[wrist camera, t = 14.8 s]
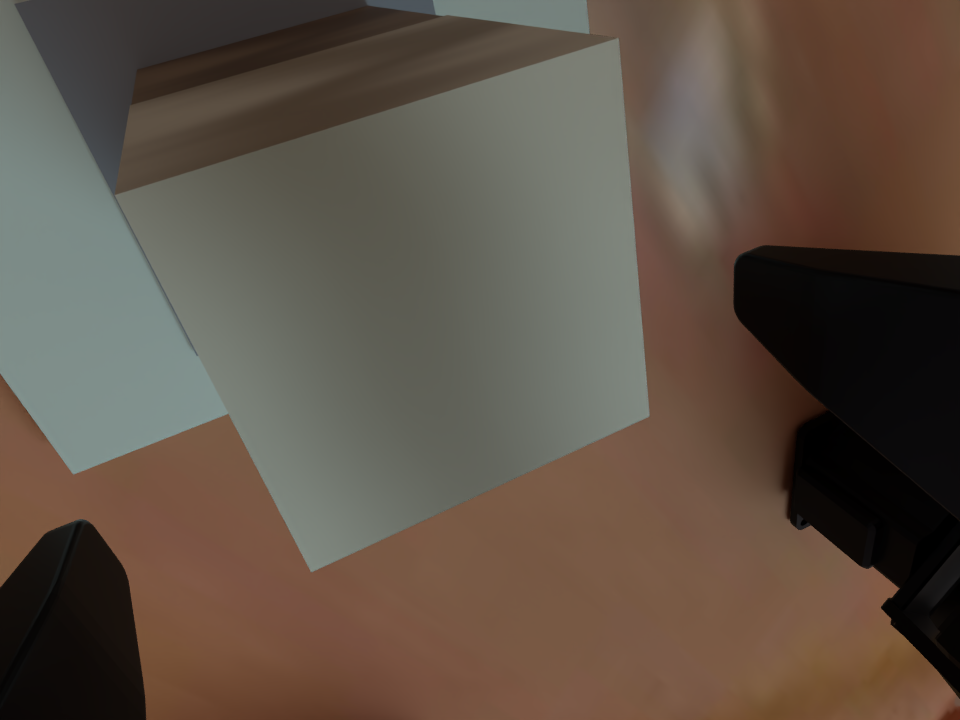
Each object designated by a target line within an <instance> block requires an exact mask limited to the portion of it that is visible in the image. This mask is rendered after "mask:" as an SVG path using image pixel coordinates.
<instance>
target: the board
mask: <svg viewBox="0 0 960 720" xmlns="http://www.w3.org/2000/svg"><path fill="white" fill-rule="evenodd" d="M365 6H375V7H382V8H389V9H396V10H403V11H410V12H418V13H425V14H432V15H439V16H445V15H451V16H459V17H466V18H474V19H481V20H489V21H496V22H504V23H511V24H519V25H526V26H533V27H541V28H548V29H556V30H563V31H571V32H578V33H586V34H590V31H589V21H588V11H587V1H586V0H0V374H1V375H2V377H3V378H4V379H5V381H6V382H7V383H8V385H9V386H10V388H11V389H12V390H13V392H14V393H15V395H16V396H17V397H18V399H19V400H20V401H21V403H22V404H23V406H24V407H25V408H26V410H27V411H28V412H29V414H30V415H31V417H32V418H33V419H34V421H35V422H36V424H37V425H38V426H39V428H40V429H41V430H42V432H43V433H44V435H45V436H46V437H47V439H48V440H49V441H50V443H51V444H52V446H53V447H54V448H55V450H56V451H57V453H58V454H59V455H60V457H61V458H62V459H63V461H64V462H65V464H66V465H67V466H68V468H69V469H70V470H71V472H72V473H73V474H76V473H78V472H81V471H83V470H86V469H89V468H91V467H94V466H96V465H99V464H101V463H104V462H106V461H109V460H111V459H114V458H117V457H119V456H122V455H124V454H127V453H129V452H132V451H134V450H137V449H140V448H142V447H145V446H147V445H150V444H152V443H155V442H157V441H160V440H162V439H165V438H168V437H170V436H173V435H175V434H178V433H180V432H183V431H185V430H188V429H190V428H193V427H196V426H198V425H201V424H203V423H206V422H208V421H211V420H213V419H216V418H218V417H221V416H224V415H226V414H228V412H227V410H226V408H225V406H224V404H223V402H222V400H221V398H220V396H219V395H218V393H217V391H216V389H215V387H214V385H213V383H212V381H211V379H210V377H209V375H208V373H207V372H206V370H205V368H204V366H203V364H202V362H201V360H200V358H199V356H198V354H197V352H196V350H195V349H194V347H193V345H192V343H191V341H190V339H189V337H188V335H187V333H186V331H185V329H184V327H183V326H182V324H181V322H180V320H179V318H178V316H177V314H176V312H175V310H174V308H173V306H172V304H171V303H170V301H169V299H168V297H167V295H166V293H165V291H164V289H163V287H162V285H161V283H160V281H159V280H158V278H157V276H156V274H155V272H154V270H153V268H152V266H151V264H150V262H149V260H148V259H147V257H146V255H145V253H144V251H143V249H142V247H141V245H140V243H139V241H138V239H137V237H136V236H135V234H134V232H133V230H132V228H131V226H130V224H129V222H128V220H127V218H126V216H125V214H124V213H123V211H122V209H121V207H120V205H119V203H118V201H117V199H116V197H115V189H116V184H117V178H118V172H119V166H120V160H121V155H122V149H123V143H124V137H125V131H126V126H127V120H128V114H129V108H130V105H131V103H132V97H133V91H134V85H135V79H136V73H137V70H138V69H141V68H145V67H149V66H152V65H156V64H159V63H163V62H167V61H170V60H174V59H177V58H181V57H185V56H188V55H192V54H195V53H199V52H203V51H206V50H210V49H213V48H217V47H221V46H224V45H228V44H231V43H235V42H239V41H242V40H246V39H249V38H253V37H257V36H260V35H264V34H267V33H271V32H275V31H278V30H282V29H285V28H289V27H293V26H296V25H300V24H304V23H307V22H311V21H314V20H318V19H322V18H325V17H329V16H332V15H336V14H340V13H343V12H347V11H350V10H354V9H358V8H361V7H365Z"/></svg>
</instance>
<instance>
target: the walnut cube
mask: <svg viewBox="0 0 960 720" xmlns="http://www.w3.org/2000/svg"><path fill="white" fill-rule="evenodd" d="M438 17H442V16H439V15H432V14H425V13H418V12H410V11H403V10H396V9H389V8H382V7H375V6H365V7H361V8H358V9H354V10H350V11H347V12H343V13H340V14H336V15H332V16H329V17H325V18H322V19H318V20H314V21H311V22H307V23H304V24H300V25H296V26H293V27H289V28H285V29H282V30H278V31H275V32H271V33H267V34H264V35H260V36H257V37H253V38H249V39H246V40H242V41H239V42H235V43H231V44H228V45H224V46H221V47H217V48H213V49H210V50H206V51H203V52H199V53H195V54H192V55H188V56H185V57H181V58H177V59H174V60H170V61H167V62H163V63H159V64H156V65H152V66H149V67H145V68H141V69H138V70H137V73H136V79H135V85H134V91H133V97H132V103H131V105H133V104H136V103H140V102H144V101H147V100H151V99H154V98H158V97H161V96H165V95H168V94H172V93H175V92H179V91H182V90H186V89H189V88H193V87H196V86H200V85H203V84H207V83H210V82H214V81H217V80H221V79H224V78H228V77H231V76H235V75H238V74H242V73H245V72H249V71H252V70H256V69H259V68H263V67H266V66H270V65H273V64H277V63H280V62H284V61H287V60H291V59H294V58H298V57H302V56H305V55H309V54H312V53H316V52H319V51H323V50H326V49H330V48H333V47H337V46H340V45H344V44H347V43H351V42H354V41H358V40H361V39H365V38H368V37H372V36H375V35H379V34H382V33H386V32H389V31H393V30H396V29H400V28H403V27H407V26H410V25H414V24H417V23H421V22H424V21H428V20H431V19H435V18H438Z"/></svg>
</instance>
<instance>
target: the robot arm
mask: <svg viewBox="0 0 960 720" xmlns="http://www.w3.org/2000/svg"><path fill="white" fill-rule="evenodd" d="M733 304H734V310H735V313H736V316H737V317H738V319H739V321H740V322H741V323H742V324H743V325H744V326H745V327H746V328H747V329H748V330H749V331H750V332H751V333H752V334H753V336H754V337H755V338H756V339H757V340H758V341H759V342H760V343H761V344H762V345H763V346H764V347H765V348H766V349H767V350H768V351H769V352H770V353H771V354H772V355H773V356H774V357H775V358H776V360H777V361H778V362H779V363H780V364H781V365H782V366H783V367H784V368H785V369H786V370H787V371H788V372H789V373H790V374H791V375H792V376H793V377H794V378H795V379H796V380H797V381H798V382H799V383H800V384H801V385H802V386H803V387H804V388H805V389H806V390H807V391H808V392H809V393H810V394H811V395H812V396H814V397H815V398H816V399H817V400H818V401H819V402H820V403H822V404H823V405H824V406H825V407H826V408H827V409H829V410H830V412H828V413H826V414H824V415H822V416H820V417H818V418H816V419H814V420H812V421H810V422H808V423H806V424H804V425H803V426H802V427H801V428H800V430H799V431H798V434H797V441H796V454H795V466H794V479H793V492H792V505H791V517H790V522H791V524H792V525H793V526H795V527H796V528H797V529H798V530H802V529H804V528H806V527H808V526H810V525H811V526H813V527H814V528H815V529H816V530H817V531H819V532H820V533H821V534H822V535H823V536H825V537H826V538H827V539H828V540H829V541H831V542H832V543H833V544H834V545H835V546H837V547H838V548H839V549H840V550H841V551H843V552H844V553H845V554H846V555H847V556H849V557H850V558H851V559H852V560H853V561H855V562H856V563H857V564H858V565H859V566H861V567H863V568H866V569H869V568H871V567H872V566H873V567H874V568H875V569H876V570H878V571H879V572H880V573H881V574H883V575H884V576H885V577H886V578H887V579H889V580H890V581H891V582H892V583H894V584H895V585H896V586H897V587H898V588H900V589H899V590H898V591H897V592H896V594H895V595H894V596H893V597H892V598H888V599H887V600H886V601H885V603H884V604H883V605H882V606H881V609H882V610H883V611H884V612H885V613H886V614H887V615H888V616H889V617H890V618H891V625H892V626H893V627H894V628H895V629H896V630H898V631H899V632H900V633H901V634H902V635H903V636H904V637H905V638H906V639H907V640H908V641H909V642H910V643H911V644H912V645H913V646H914V647H915V648H916V649H917V650H918V651H919V652H920V653H921V654H922V655H923V656H924V657H925V658H926V659H927V660H928V661H929V662H930V663H931V664H932V665H933V666H934V667H935V668H936V669H937V671H938V672H939V673H940V674H941V676H942V677H943V678H944V679H945V681H946V682H947V683H948V685H949V686H950V687H951V688H952V690H953V691H954V692H955V693H956V695H957V696H958V697H959V698H960V256H957V255H938V254H919V253H900V252H882V251H863V250H844V249H825V248H807V247H788V246H769V245H764V246H759V247H757V248H754V249H752V250H749V251H747V252H745V253H742V254H740V255H739V256H738V257H737V259H736V261H735V263H734V300H733ZM0 720H146V704H145V692H144V684H143V676H142V669H141V662H140V656H139V649H138V642H137V635H136V628H135V621H134V615H133V608H132V601H131V594H130V587H129V581H128V578H127V575H126V572H125V570H124V568H123V566H122V564H121V563H120V561H119V560H118V558H117V557H116V556H115V554H114V553H113V552H112V550H111V549H110V547H109V546H108V545H107V543H106V542H105V541H104V539H103V538H102V536H101V535H100V534H99V532H98V531H97V530H96V528H95V527H94V526H93V525H92V524H91V523H90V522H88V521H87V520H83V519H79V520H76V521H74V522H71V523H69V524H66V525H64V526H61V527H59V528H56V529H54V530H51V531H49V532H47V533H46V534H45V535H44V536H43V537H42V538H41V539H40V540H39V541H38V543H37V544H36V545H35V546H34V547H33V549H32V550H31V551H30V552H29V554H28V555H27V556H26V557H25V558H24V560H23V561H22V562H21V563H20V564H19V566H18V567H17V568H16V569H15V570H14V572H13V573H12V574H11V575H10V577H9V578H8V579H7V580H6V581H5V583H4V584H3V585H2V586H1V587H0Z"/></svg>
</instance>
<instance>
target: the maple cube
mask: <svg viewBox="0 0 960 720" xmlns="http://www.w3.org/2000/svg"><path fill="white" fill-rule="evenodd" d="M115 197H116V199H117V201H118V203H119V205H120V207H121V209H122V211H123V213H124V214H125V216H126V218H127V220H128V222H129V224H130V226H131V228H132V230H133V232H134V234H135V236H136V237H137V239H138V241H139V243H140V245H141V247H142V249H143V251H144V253H145V255H146V257H147V259H148V260H149V262H150V264H151V266H152V268H153V270H154V272H155V274H156V276H157V278H158V280H159V281H160V283H161V285H162V287H163V289H164V291H165V293H166V295H167V297H168V299H169V301H170V303H171V304H172V306H173V308H174V310H175V312H176V314H177V316H178V318H179V320H180V322H181V324H182V326H183V327H184V329H185V331H186V333H187V335H188V337H189V339H190V341H191V343H192V345H193V347H194V349H195V350H196V352H197V354H198V356H199V358H200V360H201V362H202V364H203V366H204V368H205V370H206V372H207V373H208V375H209V377H210V379H211V381H212V383H213V385H214V387H215V389H216V391H217V393H218V395H219V396H220V398H221V400H222V402H223V404H224V406H225V408H226V410H227V412H228V414H229V416H230V417H231V419H232V421H233V423H234V425H235V427H236V429H237V431H238V433H239V435H240V437H241V439H242V440H243V442H244V444H245V446H246V448H247V450H248V452H249V454H250V456H251V458H252V460H253V462H254V463H255V465H256V467H257V469H258V471H259V473H260V475H261V477H262V479H263V481H264V483H265V485H266V486H267V488H268V490H269V492H270V494H271V496H272V498H273V500H274V502H275V504H276V506H277V508H278V509H279V511H280V513H281V515H282V517H283V519H284V521H285V523H286V525H287V527H288V529H289V531H290V532H291V534H292V536H293V538H294V540H295V542H296V544H297V546H298V548H299V550H300V552H301V553H302V555H303V557H304V559H305V561H306V563H307V565H308V567H309V569H310V571H311V572H313V571H315V570H317V569H320V568H322V567H324V566H326V565H328V564H330V563H333V562H335V561H337V560H339V559H341V558H343V557H346V556H348V555H350V554H352V553H354V552H356V551H359V550H361V549H363V548H365V547H367V546H369V545H372V544H374V543H376V542H378V541H380V540H382V539H385V538H387V537H389V536H391V535H393V534H395V533H398V532H400V531H402V530H404V529H406V528H408V527H411V526H413V525H415V524H417V523H419V522H422V521H424V520H426V519H428V518H430V517H432V516H435V515H437V514H439V513H441V512H443V511H445V510H448V509H450V508H452V507H454V506H456V505H458V504H461V503H463V502H465V501H467V500H469V499H471V498H474V497H476V496H478V495H480V494H482V493H484V492H487V491H489V490H491V489H493V488H495V487H497V486H500V485H502V484H504V483H506V482H508V481H510V480H513V479H515V478H517V477H519V476H521V475H523V474H526V473H528V472H530V471H532V470H534V469H536V468H539V467H541V466H543V465H545V464H547V463H550V462H552V461H554V460H556V459H558V458H560V457H563V456H565V455H567V454H569V453H571V452H573V451H576V450H578V449H580V448H582V447H584V446H586V445H589V444H591V443H593V442H595V441H597V440H599V439H602V438H604V437H606V436H608V435H610V434H612V433H615V432H617V431H619V430H621V429H623V428H625V427H628V426H630V425H632V424H634V423H636V422H638V421H641V420H643V419H645V418H647V417H649V403H648V391H647V379H646V367H645V354H644V342H643V330H642V318H641V305H640V293H639V281H638V268H637V256H636V244H635V232H634V219H633V207H632V195H631V183H630V170H629V158H628V146H627V133H626V121H625V109H624V97H623V84H622V72H621V60H620V47H619V38H616V37H608V36H601V35H593V34H586V33H578V32H571V31H563V30H556V29H548V28H541V27H533V26H526V25H519V24H511V23H504V22H496V21H489V20H481V19H474V18H466V17H459V16H451V15H445V16H442V17H438V18H435V19H431V20H428V21H424V22H421V23H417V24H414V25H410V26H407V27H403V28H400V29H396V30H393V31H389V32H386V33H382V34H379V35H375V36H372V37H368V38H365V39H361V40H358V41H354V42H351V43H347V44H344V45H340V46H337V47H333V48H330V49H326V50H323V51H319V52H316V53H312V54H309V55H305V56H302V57H298V58H294V59H291V60H287V61H284V62H280V63H277V64H273V65H270V66H266V67H263V68H259V69H256V70H252V71H249V72H245V73H242V74H238V75H235V76H231V77H228V78H224V79H221V80H217V81H214V82H210V83H207V84H203V85H200V86H196V87H193V88H189V89H186V90H182V91H179V92H175V93H172V94H168V95H165V96H161V97H158V98H154V99H151V100H147V101H144V102H140V103H136V104H133V105H130V108H129V114H128V120H127V126H126V131H125V137H124V143H123V149H122V155H121V160H120V166H119V172H118V178H117V184H116V189H115Z"/></svg>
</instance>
